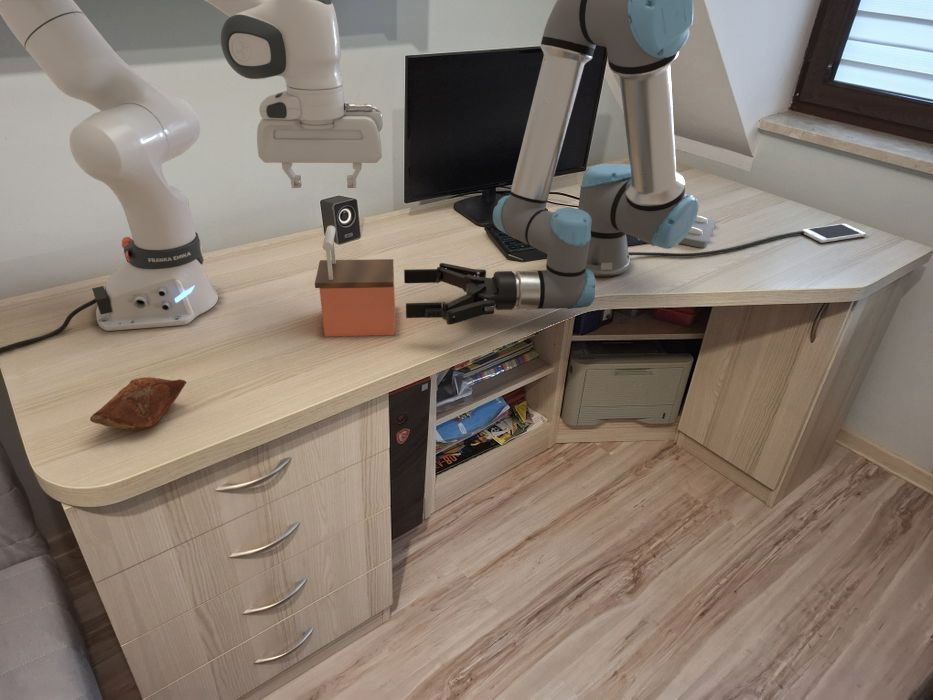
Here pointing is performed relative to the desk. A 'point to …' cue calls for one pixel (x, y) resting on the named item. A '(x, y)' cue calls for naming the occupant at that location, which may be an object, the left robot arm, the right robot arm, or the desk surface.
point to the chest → (358, 311)
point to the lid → (351, 269)
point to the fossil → (139, 403)
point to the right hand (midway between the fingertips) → (404, 292)
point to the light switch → (699, 232)
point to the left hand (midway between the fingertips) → (324, 187)
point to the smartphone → (833, 233)
